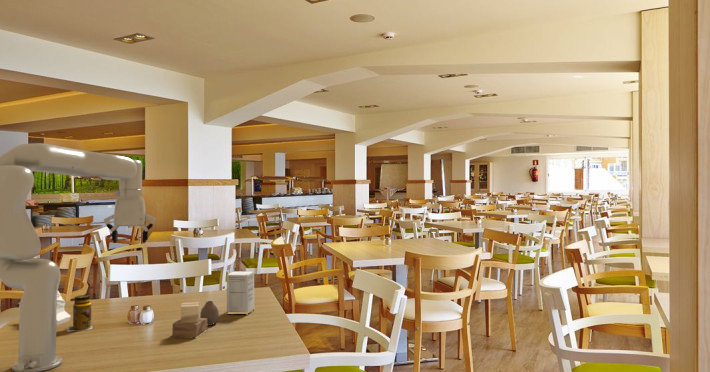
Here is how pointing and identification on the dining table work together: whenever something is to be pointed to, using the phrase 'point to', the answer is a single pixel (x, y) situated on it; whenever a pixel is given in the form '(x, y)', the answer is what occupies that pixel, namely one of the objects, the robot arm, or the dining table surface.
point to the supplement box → (240, 291)
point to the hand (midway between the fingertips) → (130, 242)
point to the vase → (210, 312)
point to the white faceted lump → (61, 311)
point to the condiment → (81, 314)
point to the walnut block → (189, 328)
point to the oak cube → (190, 312)
